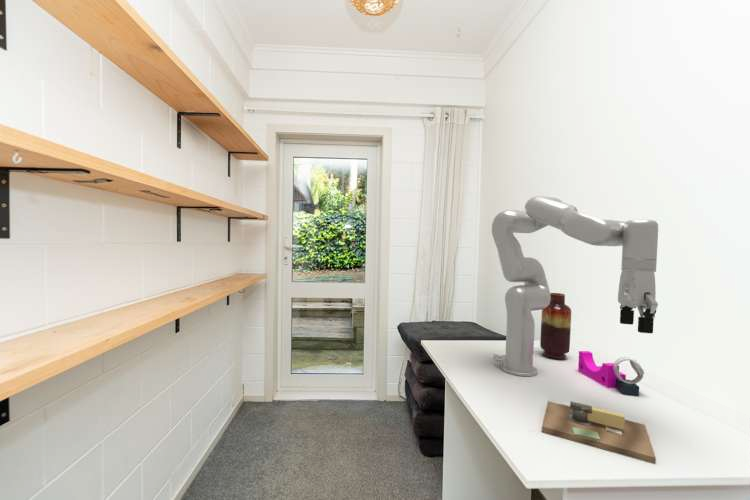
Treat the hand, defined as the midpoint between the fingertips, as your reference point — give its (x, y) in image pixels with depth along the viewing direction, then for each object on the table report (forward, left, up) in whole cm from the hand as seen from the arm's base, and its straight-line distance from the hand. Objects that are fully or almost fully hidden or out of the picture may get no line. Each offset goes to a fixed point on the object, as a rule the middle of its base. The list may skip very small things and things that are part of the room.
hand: (635, 328), depth 94 cm
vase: (-22, +47, -25) cm, 57 cm away
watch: (+1, +20, -25) cm, 32 cm away
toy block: (-6, +28, -25) cm, 38 cm away
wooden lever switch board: (-9, -15, -25) cm, 30 cm away
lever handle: (-12, -14, -23) cm, 29 cm away
